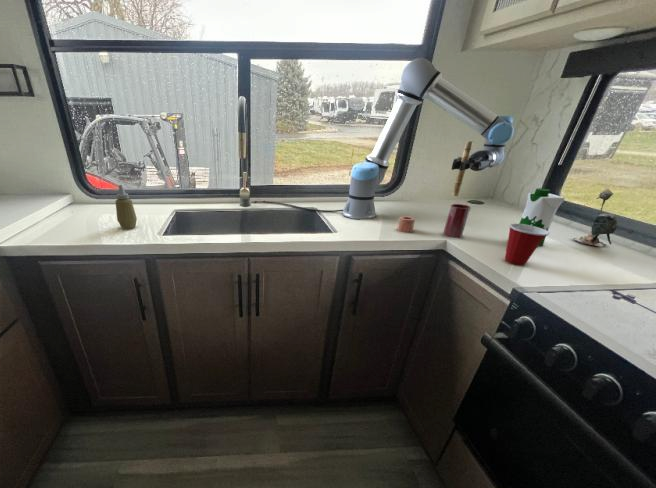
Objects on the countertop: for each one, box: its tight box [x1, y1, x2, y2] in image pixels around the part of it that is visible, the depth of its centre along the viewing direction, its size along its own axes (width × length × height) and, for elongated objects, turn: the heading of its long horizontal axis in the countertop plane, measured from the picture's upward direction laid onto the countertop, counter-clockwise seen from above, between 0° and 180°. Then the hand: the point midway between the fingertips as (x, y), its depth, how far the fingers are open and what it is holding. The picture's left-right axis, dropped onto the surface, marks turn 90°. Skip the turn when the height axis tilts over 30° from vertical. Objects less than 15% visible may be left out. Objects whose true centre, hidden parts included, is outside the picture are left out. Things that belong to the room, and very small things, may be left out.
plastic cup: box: [504, 222, 550, 266], centre depth 110 cm, size 11×11×12 cm
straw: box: [451, 140, 474, 197], centre depth 125 cm, size 2×2×19 cm
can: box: [442, 203, 472, 239], centre depth 134 cm, size 7×7×12 cm
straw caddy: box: [397, 215, 416, 233], centre depth 141 cm, size 6×6×6 cm
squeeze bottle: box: [114, 184, 138, 230], centre depth 144 cm, size 8×8×18 cm
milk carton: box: [518, 187, 566, 247], centre depth 124 cm, size 9×9×20 cm
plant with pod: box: [573, 188, 618, 248], centre depth 123 cm, size 8×11×20 cm
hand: (457, 166), depth 121 cm, fingers closed on straw, 2 cm apart
